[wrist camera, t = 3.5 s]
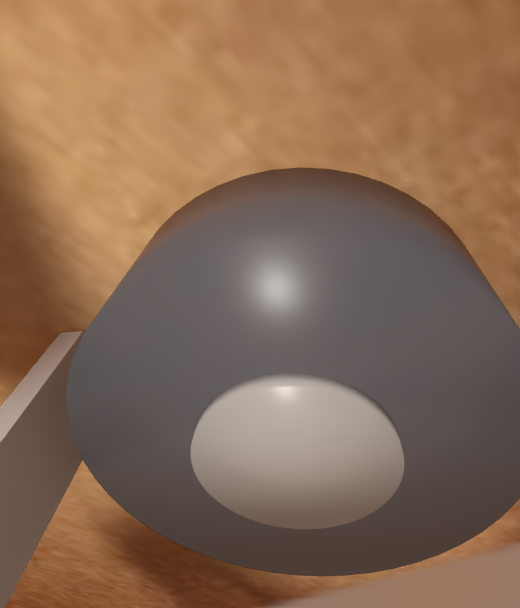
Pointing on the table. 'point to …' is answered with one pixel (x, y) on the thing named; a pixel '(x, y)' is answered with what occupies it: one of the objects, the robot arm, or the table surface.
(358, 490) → the grey short cylinder
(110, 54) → the table surface
